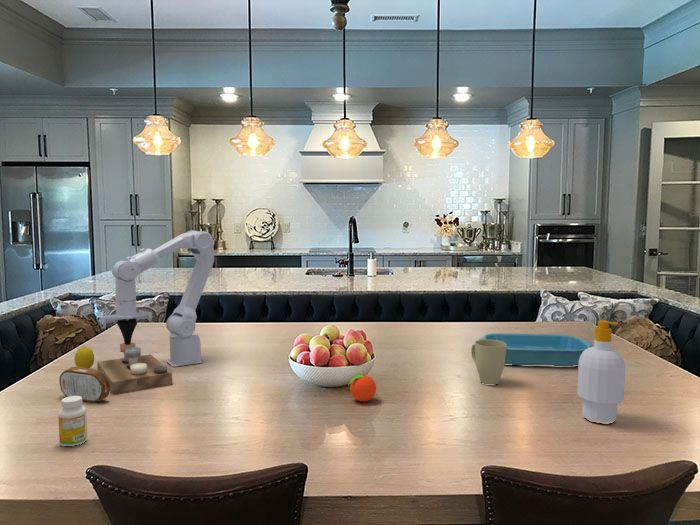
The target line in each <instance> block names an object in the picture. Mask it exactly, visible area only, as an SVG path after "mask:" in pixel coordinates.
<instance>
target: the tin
mask: <svg viewBox="0 0 700 525" xmlns="http://www.w3.org/2000/svg"><path fill="white" fill-rule="evenodd" d="M59 388H60V391H61V393H62V394H63V395H64V396H65V398H66V397H70V396H81V397H82V402H88V403H97V402H100V401H102V400H106V399H107V397H108V396H109V394H111V393H110V392H111V391H110V383H109V380H108V378H107V376H106V375H105V374H104V373H103V372H101V371H99V370H98V369H94V368H89V369H88V368H81V367H77V366H71V367H70V368H68V369H66V370H63V371H62V373H61V374H60V376H59Z"/></svg>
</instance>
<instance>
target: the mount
mask: <svg viewBox="0 0 700 525" xmlns="http://www.w3.org/2000/svg"><path fill="white" fill-rule="evenodd" d="M137 362H138V363H145V364H147V372H146V373H143V374H140V375H134V374H131V370H130V367H129V362H124V357H122V358H115V359H108V360H101V361H97V366H96V367H97V370H99V371H101V372H103V373H104V374H105V375H106V376H107V378H108V380H109V383H110V392H111V393H110V394H112V395H113V394H114V395H119V393H120V394H125V393H124V392H126V393H130V391H132V392H137V390H138V391H143V389H144V390H148V389H154V388H160V387H165V386H167V387H168V386H172V385H173V373H172V372H173V371H172V372H171V371H170V369H168V367H167V366H166V365H164V364H163V363H162V362H160V361H159V360H158V359H157V358H156V357H155V356H154V355H152V354H151V353H150V354H145V355H140V356H138V357H137Z"/></svg>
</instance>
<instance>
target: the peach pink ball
mask: <svg viewBox="0 0 700 525" xmlns="http://www.w3.org/2000/svg"><path fill="white" fill-rule="evenodd" d="M131 347H136V343H135V342H132V341H131V344H128V345H125V344H124V342H122V343H120V344H119V351H120V353H123V358H124V362H129V358H128V357H125V349H126V348H131Z"/></svg>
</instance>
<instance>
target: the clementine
mask: <svg viewBox="0 0 700 525" xmlns="http://www.w3.org/2000/svg"><path fill="white" fill-rule="evenodd" d="M347 387H350V388H349V389H350V390H349V391H350V394H351V395H352V397H353V398H354V399H355V400H356V401H359V402H365V403H366V402H368V401H370V400H372V399H373V398H374V396H375V394H376V391H377V385H376V383H375V380H374V379H373V378H372V377H370V376H369V375H368V374H359V375H356V376H354V377H353V378H352V379H350V380H349V382H348V386H347Z"/></svg>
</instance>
